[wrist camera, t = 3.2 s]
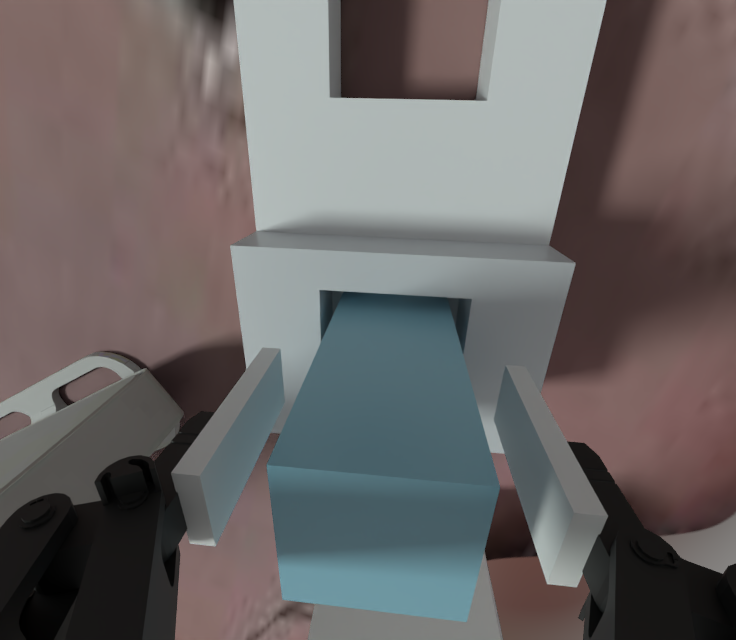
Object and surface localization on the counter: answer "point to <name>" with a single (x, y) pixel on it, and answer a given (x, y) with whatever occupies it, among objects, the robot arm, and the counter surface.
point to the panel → (410, 188)
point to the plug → (384, 466)
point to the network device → (82, 432)
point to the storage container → (410, 621)
